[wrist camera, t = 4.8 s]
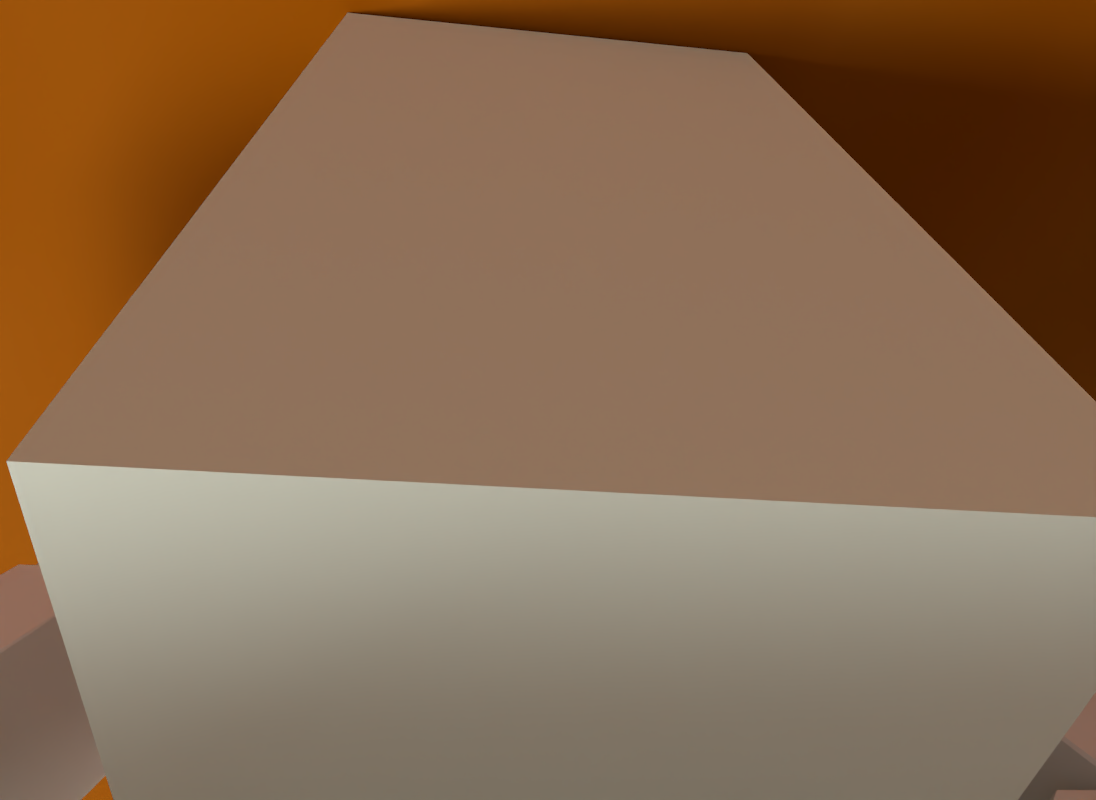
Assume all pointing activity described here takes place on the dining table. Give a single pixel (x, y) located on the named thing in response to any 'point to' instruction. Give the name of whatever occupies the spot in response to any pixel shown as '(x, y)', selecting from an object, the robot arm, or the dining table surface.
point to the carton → (563, 457)
